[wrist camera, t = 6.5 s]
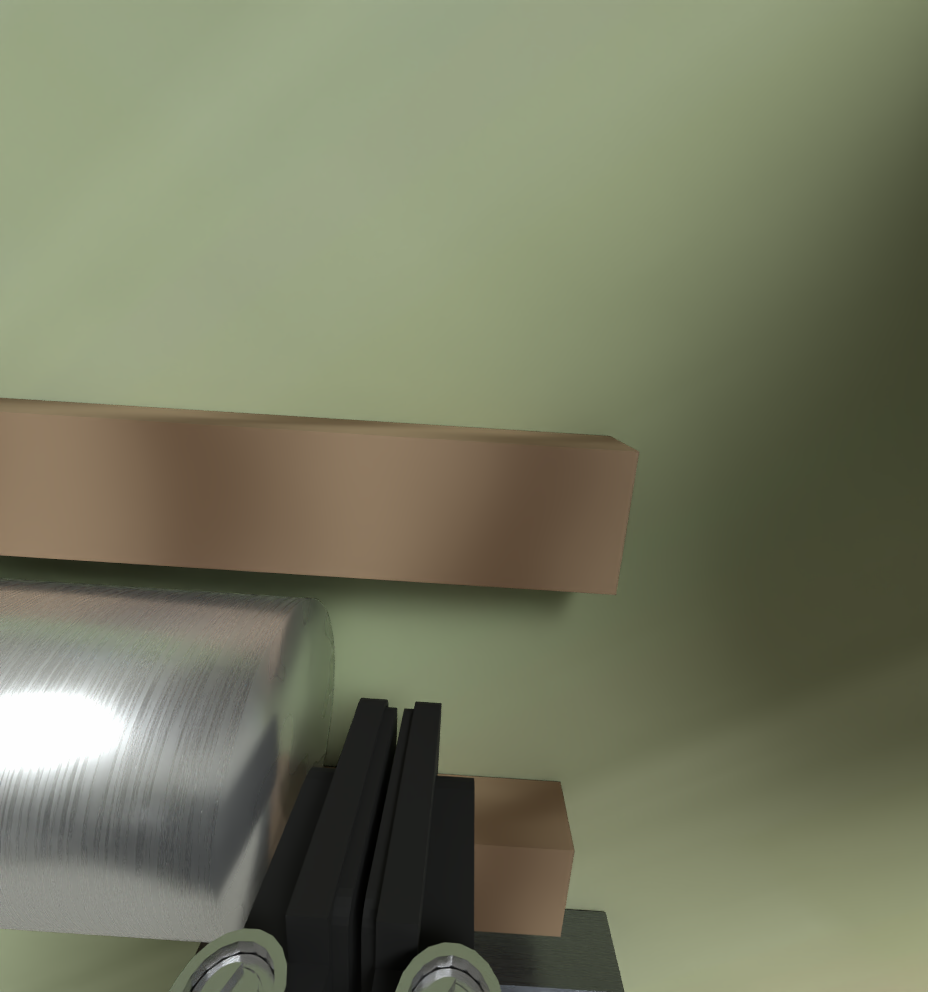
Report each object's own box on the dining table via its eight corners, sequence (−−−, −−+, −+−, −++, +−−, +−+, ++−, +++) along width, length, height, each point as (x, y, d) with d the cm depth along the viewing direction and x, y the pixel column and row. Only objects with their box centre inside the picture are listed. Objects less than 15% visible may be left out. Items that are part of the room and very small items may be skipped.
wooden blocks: (610, 436, 11) (639, 451, 9) (548, 860, 14) (560, 936, 13) (-80, 392, 11) (-197, 399, 9) (27, 825, 15) (-41, 896, 13)
